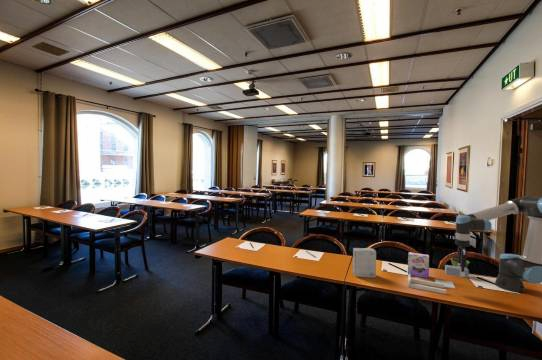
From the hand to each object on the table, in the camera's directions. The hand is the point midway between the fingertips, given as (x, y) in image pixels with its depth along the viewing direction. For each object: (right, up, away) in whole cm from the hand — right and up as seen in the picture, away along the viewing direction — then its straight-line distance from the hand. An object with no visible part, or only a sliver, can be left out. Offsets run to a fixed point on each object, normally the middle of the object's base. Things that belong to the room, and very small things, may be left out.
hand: (461, 274), depth 169 cm
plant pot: (+22, -12, +32) cm, 40 cm away
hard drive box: (-54, -11, +28) cm, 61 cm away
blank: (-2, -1, +1) cm, 3 cm away
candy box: (-12, -12, +29) cm, 34 cm away
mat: (-1, -12, +14) cm, 19 cm away
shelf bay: (-18, -12, +9) cm, 23 cm away
